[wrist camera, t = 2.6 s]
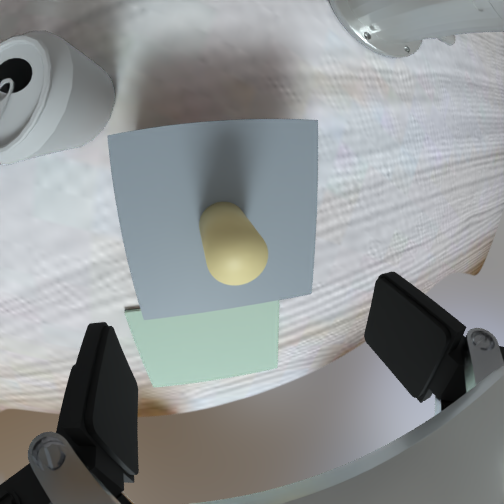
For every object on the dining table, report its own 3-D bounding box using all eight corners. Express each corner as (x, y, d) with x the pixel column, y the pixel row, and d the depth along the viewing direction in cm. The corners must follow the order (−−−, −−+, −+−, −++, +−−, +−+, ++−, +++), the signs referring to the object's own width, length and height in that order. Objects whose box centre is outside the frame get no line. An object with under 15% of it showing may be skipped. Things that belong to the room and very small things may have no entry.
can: (132, 77, 18) (89, 30, 7) (96, 159, 20) (26, 189, 9) (62, 57, 15) (-11, 19, 4) (30, 136, 17) (-58, 152, 6)
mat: (278, 288, 29) (279, 290, 29) (276, 365, 34) (277, 367, 34) (125, 310, 26) (124, 312, 26) (153, 384, 31) (153, 387, 31)
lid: (312, 120, 17) (362, 120, 12) (307, 288, 23) (341, 332, 17) (110, 135, 14) (78, 138, 9) (144, 313, 20) (139, 369, 15)
